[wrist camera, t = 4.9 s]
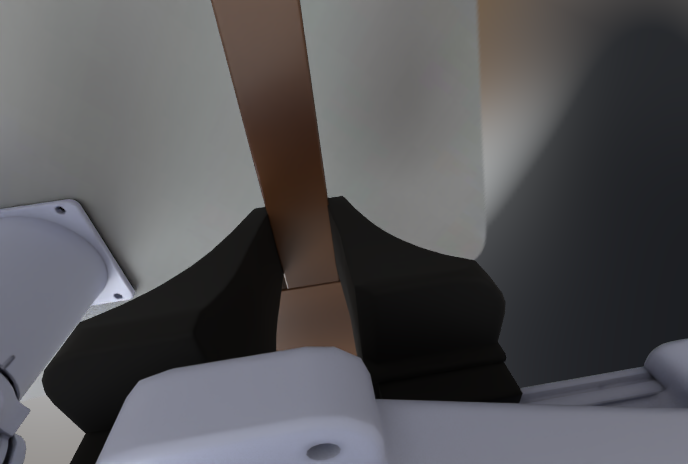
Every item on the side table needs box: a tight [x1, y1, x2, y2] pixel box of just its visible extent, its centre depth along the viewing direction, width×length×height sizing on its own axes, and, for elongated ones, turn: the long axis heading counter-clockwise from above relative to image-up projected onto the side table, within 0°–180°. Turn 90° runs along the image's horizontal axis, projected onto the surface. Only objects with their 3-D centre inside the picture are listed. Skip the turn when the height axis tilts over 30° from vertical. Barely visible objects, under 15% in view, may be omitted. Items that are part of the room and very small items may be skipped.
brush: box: [211, 0, 357, 356], centre depth 12 cm, size 16×4×3 cm, turn 6°
